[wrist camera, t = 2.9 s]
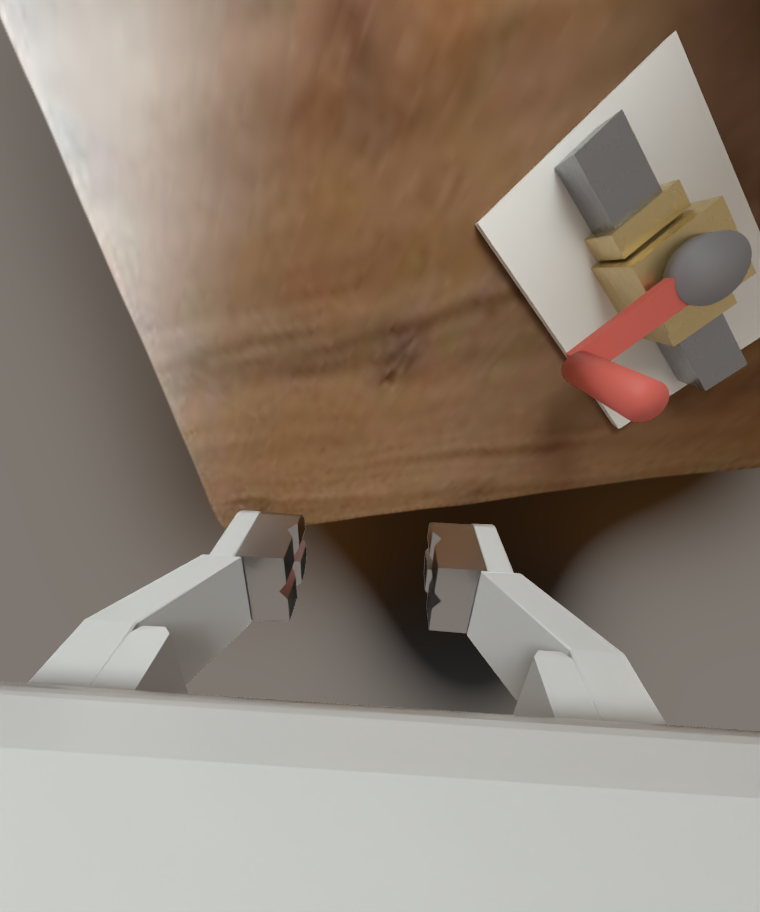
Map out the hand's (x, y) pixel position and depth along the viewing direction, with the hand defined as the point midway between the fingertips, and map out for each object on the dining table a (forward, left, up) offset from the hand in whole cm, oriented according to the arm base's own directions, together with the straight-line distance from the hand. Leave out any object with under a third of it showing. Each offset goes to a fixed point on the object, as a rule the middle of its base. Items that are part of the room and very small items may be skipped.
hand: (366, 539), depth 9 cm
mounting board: (-7, +21, -29) cm, 37 cm away
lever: (-4, +18, -22) cm, 28 cm away
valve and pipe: (-7, +21, -29) cm, 37 cm away
